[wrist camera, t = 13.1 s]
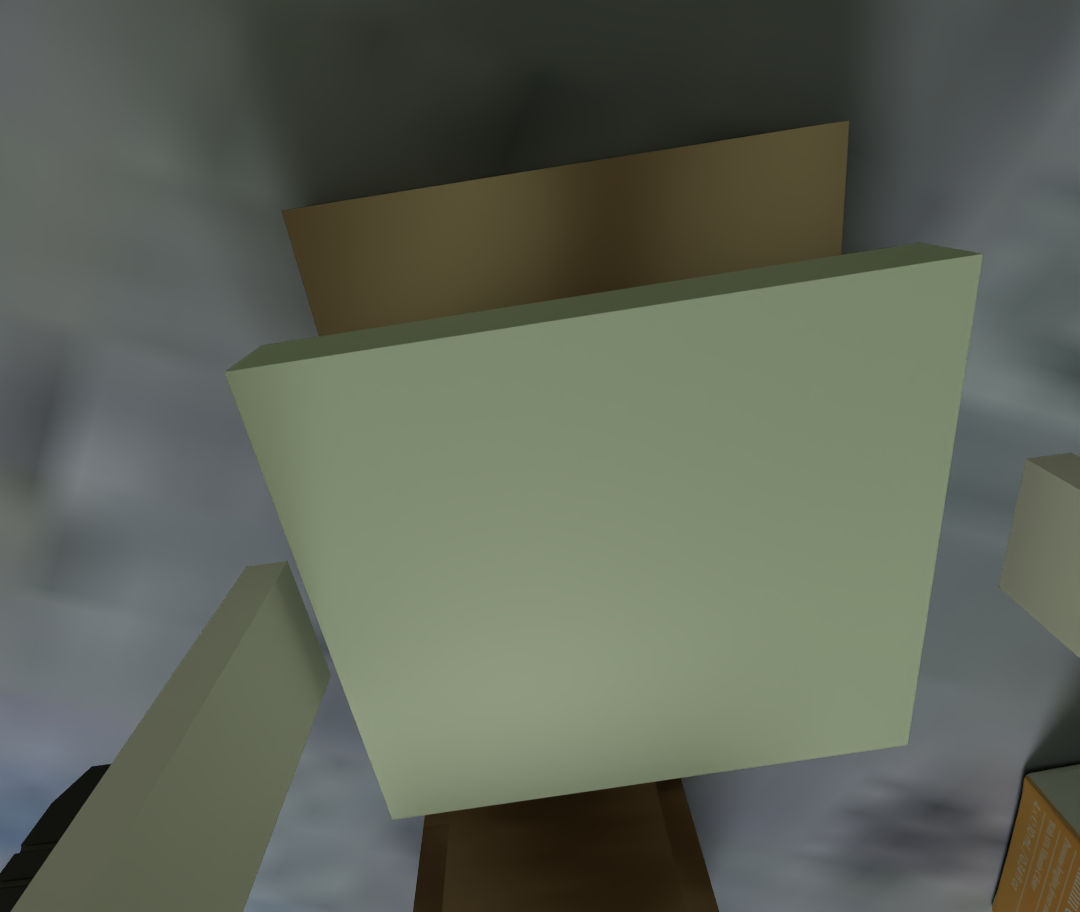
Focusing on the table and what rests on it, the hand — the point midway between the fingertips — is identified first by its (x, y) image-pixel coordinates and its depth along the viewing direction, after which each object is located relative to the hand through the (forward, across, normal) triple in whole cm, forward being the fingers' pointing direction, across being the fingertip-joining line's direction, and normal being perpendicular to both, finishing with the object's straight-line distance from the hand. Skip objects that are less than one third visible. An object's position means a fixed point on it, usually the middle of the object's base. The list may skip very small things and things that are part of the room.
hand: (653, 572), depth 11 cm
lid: (+1, -1, 0) cm, 1 cm away
